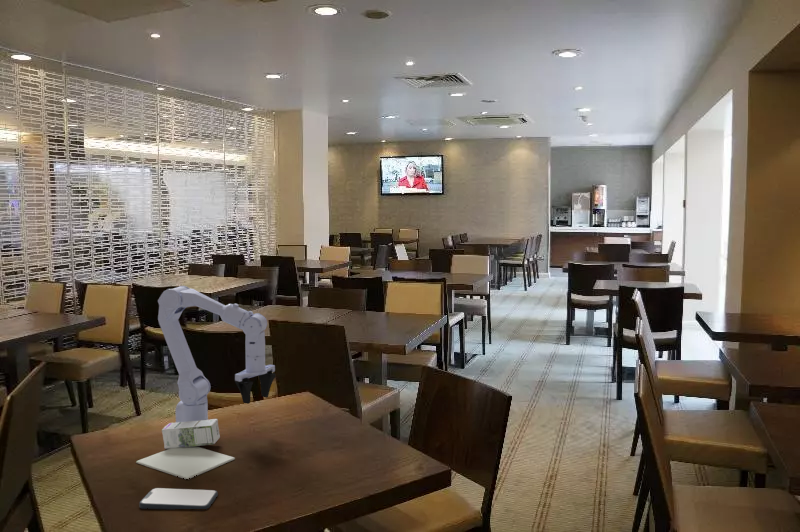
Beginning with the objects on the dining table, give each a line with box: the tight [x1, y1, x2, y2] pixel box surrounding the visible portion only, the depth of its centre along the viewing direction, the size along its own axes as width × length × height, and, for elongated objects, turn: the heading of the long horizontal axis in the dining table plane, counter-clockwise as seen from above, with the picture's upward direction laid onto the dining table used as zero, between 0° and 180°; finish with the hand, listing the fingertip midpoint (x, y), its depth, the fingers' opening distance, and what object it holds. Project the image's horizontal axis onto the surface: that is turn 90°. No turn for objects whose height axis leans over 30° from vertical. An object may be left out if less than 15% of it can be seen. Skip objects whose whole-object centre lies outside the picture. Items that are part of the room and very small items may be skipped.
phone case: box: [138, 487, 219, 510], centre depth 155 cm, size 9×2×16 cm
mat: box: [135, 446, 236, 480], centre depth 179 cm, size 20×16×1 cm
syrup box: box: [161, 418, 221, 450], centre depth 189 cm, size 6×6×14 cm
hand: (255, 399), depth 200 cm, fingers open, 7 cm apart
